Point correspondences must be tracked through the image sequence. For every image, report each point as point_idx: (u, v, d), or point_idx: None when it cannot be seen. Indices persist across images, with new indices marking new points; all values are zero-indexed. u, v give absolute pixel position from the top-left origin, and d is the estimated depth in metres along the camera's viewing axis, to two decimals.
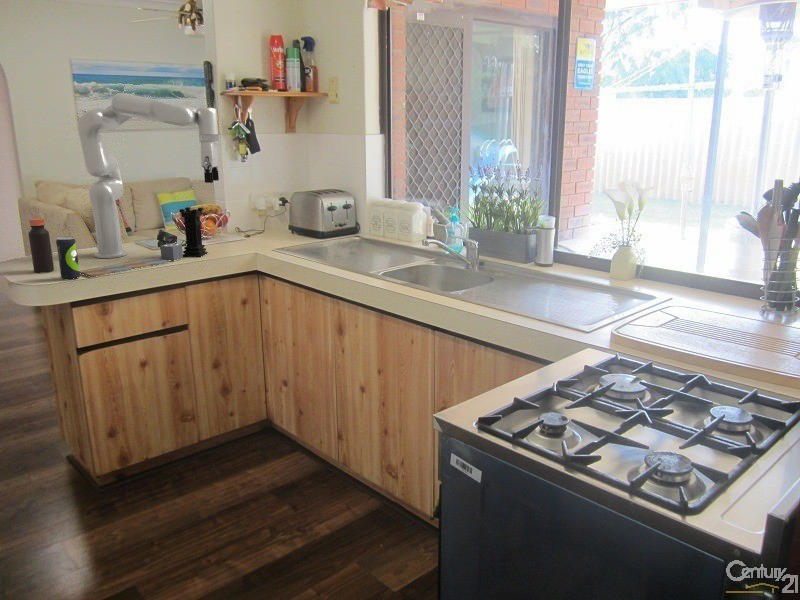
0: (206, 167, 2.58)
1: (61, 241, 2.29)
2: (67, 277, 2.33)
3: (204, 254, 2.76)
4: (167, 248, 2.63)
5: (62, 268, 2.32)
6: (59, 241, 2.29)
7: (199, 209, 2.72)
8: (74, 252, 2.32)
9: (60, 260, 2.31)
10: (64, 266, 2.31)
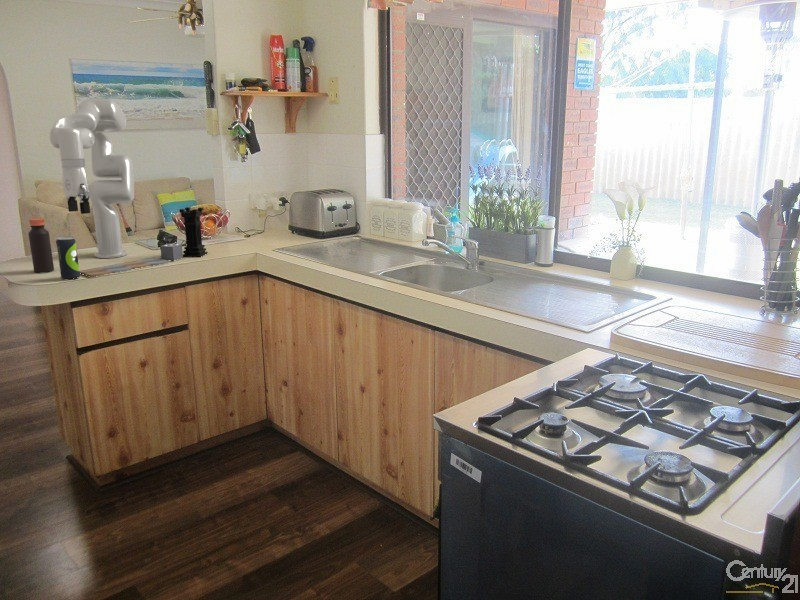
0: (87, 196, 2.27)
1: (61, 241, 2.29)
2: (67, 277, 2.33)
3: (204, 254, 2.76)
4: (167, 248, 2.63)
5: (62, 268, 2.32)
6: (59, 241, 2.29)
7: (199, 209, 2.72)
8: (74, 252, 2.32)
9: (60, 260, 2.31)
10: (64, 266, 2.31)
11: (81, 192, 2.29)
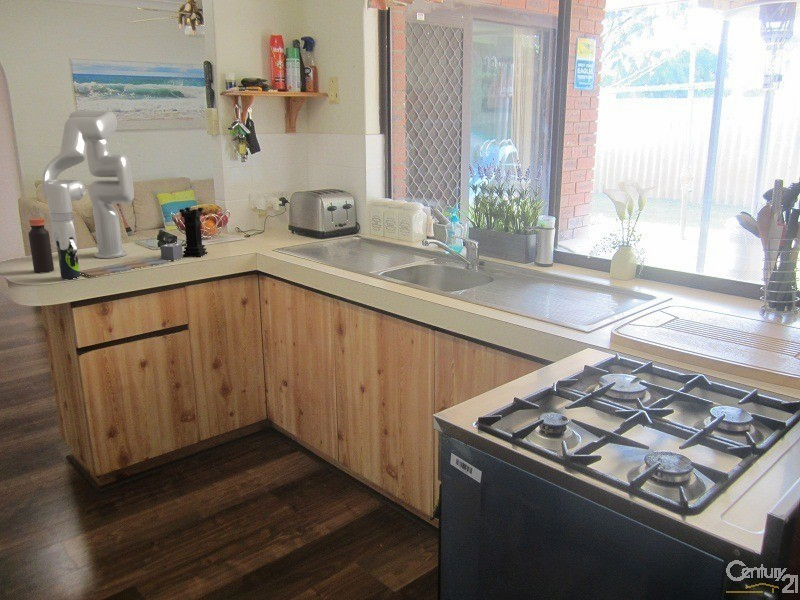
0: (74, 253, 2.30)
1: None
2: (67, 277, 2.32)
3: (204, 254, 2.76)
4: (167, 248, 2.63)
5: (62, 268, 2.32)
6: None
7: (199, 209, 2.72)
8: None
9: (60, 260, 2.31)
10: (64, 266, 2.31)
11: None
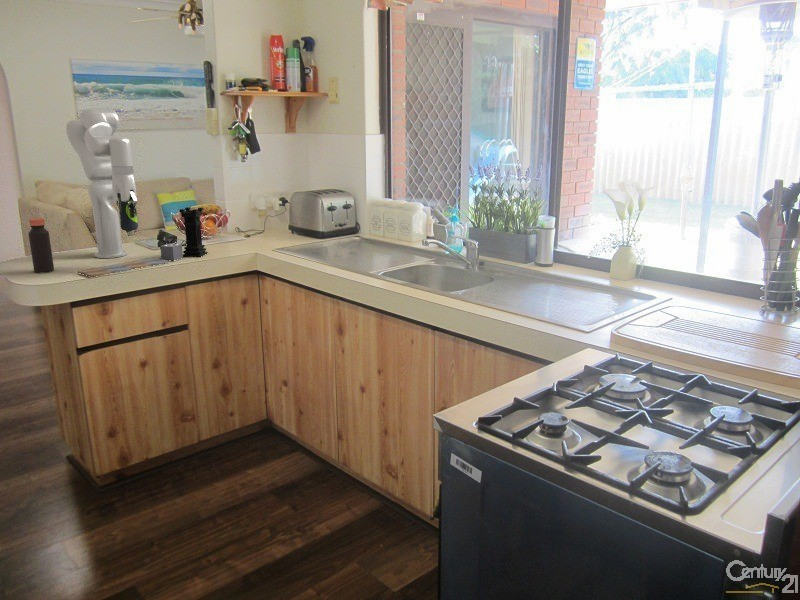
0: (134, 204, 2.44)
1: None
2: (127, 228, 2.47)
3: (204, 254, 2.76)
4: (167, 248, 2.63)
5: (123, 219, 2.46)
6: None
7: (199, 209, 2.72)
8: None
9: (121, 211, 2.46)
10: (124, 217, 2.46)
11: None
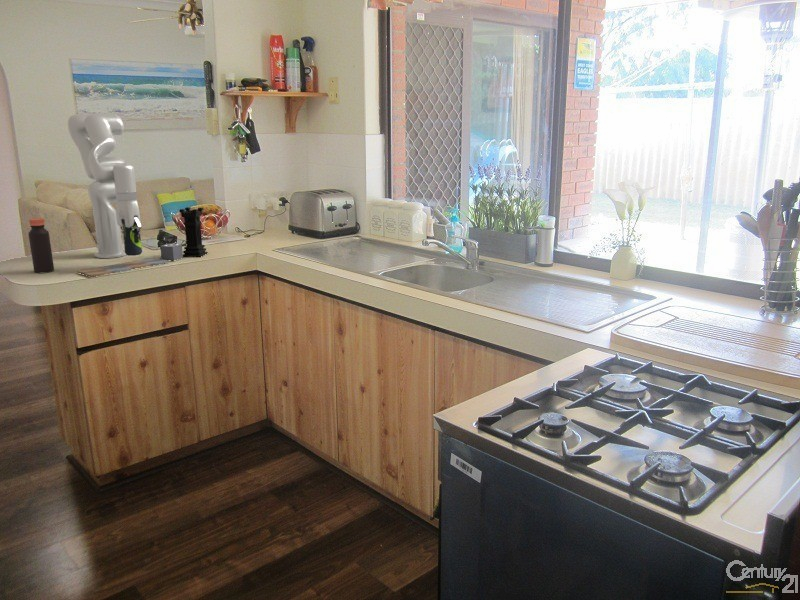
0: (138, 230, 2.47)
1: None
2: (131, 253, 2.50)
3: (204, 254, 2.76)
4: (167, 248, 2.63)
5: (127, 244, 2.49)
6: (124, 219, 2.46)
7: (199, 209, 2.72)
8: None
9: (125, 237, 2.48)
10: (128, 243, 2.49)
11: None
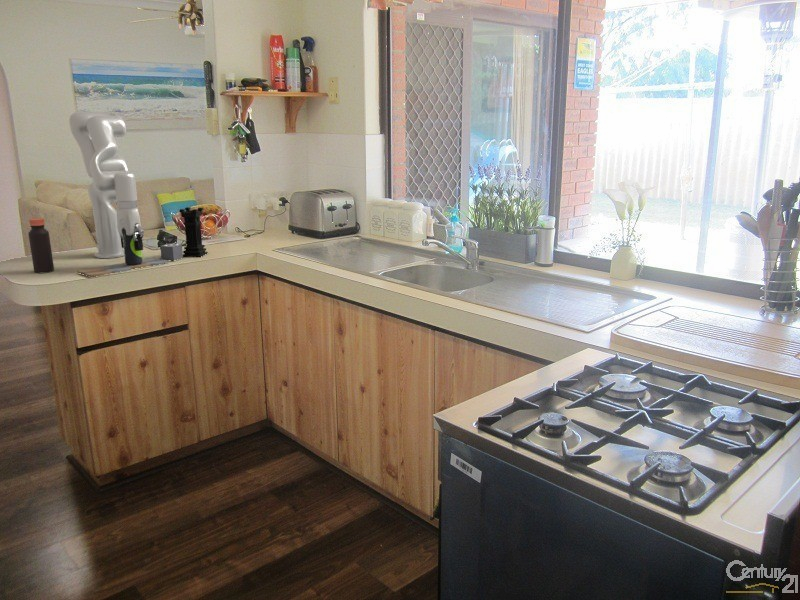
0: (141, 235, 2.47)
1: None
2: (131, 263, 2.51)
3: (204, 254, 2.76)
4: (167, 248, 2.63)
5: (127, 254, 2.50)
6: None
7: (199, 209, 2.72)
8: None
9: (125, 247, 2.50)
10: (128, 253, 2.50)
11: (135, 231, 2.49)
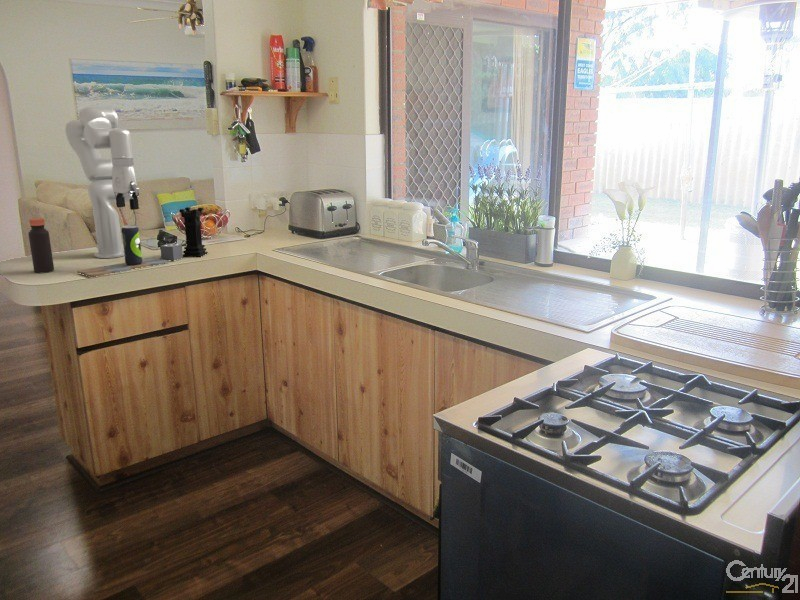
0: (137, 193, 2.42)
1: (126, 230, 2.47)
2: (131, 263, 2.51)
3: (204, 254, 2.76)
4: (167, 248, 2.63)
5: (127, 254, 2.50)
6: (124, 229, 2.47)
7: (199, 209, 2.72)
8: (138, 239, 2.51)
9: (125, 247, 2.50)
10: (128, 253, 2.50)
11: (130, 189, 2.45)
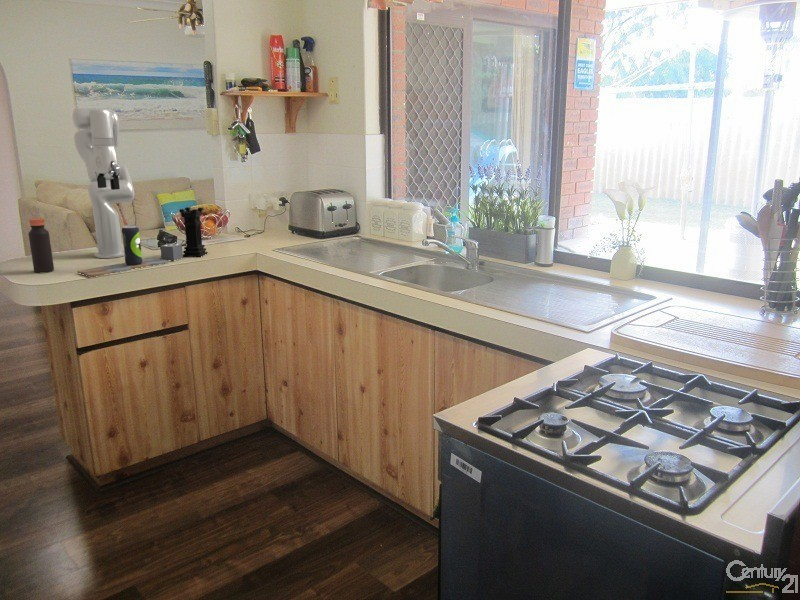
0: (118, 173, 2.42)
1: (126, 230, 2.47)
2: (131, 263, 2.51)
3: (204, 254, 2.76)
4: (167, 248, 2.63)
5: (127, 254, 2.50)
6: (125, 229, 2.48)
7: (199, 209, 2.72)
8: (138, 240, 2.51)
9: (125, 247, 2.50)
10: (128, 253, 2.50)
11: (111, 169, 2.44)
